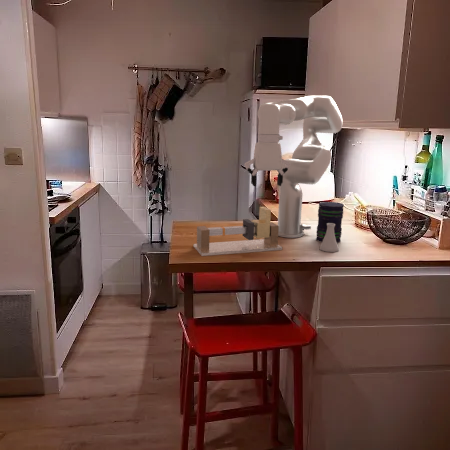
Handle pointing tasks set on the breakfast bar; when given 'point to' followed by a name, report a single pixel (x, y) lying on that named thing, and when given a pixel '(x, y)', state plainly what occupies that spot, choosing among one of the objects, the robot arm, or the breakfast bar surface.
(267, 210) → the wooden block
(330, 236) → the flask
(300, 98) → the robot arm
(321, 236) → the storage jar
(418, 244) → the breakfast bar surface
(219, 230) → the pipe rig
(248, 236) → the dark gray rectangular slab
